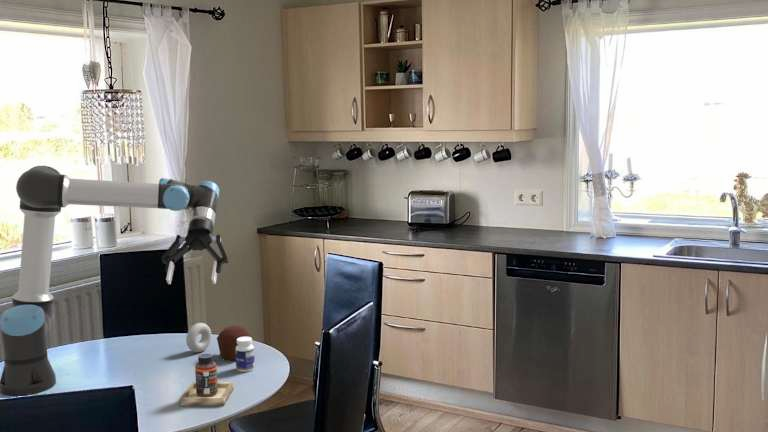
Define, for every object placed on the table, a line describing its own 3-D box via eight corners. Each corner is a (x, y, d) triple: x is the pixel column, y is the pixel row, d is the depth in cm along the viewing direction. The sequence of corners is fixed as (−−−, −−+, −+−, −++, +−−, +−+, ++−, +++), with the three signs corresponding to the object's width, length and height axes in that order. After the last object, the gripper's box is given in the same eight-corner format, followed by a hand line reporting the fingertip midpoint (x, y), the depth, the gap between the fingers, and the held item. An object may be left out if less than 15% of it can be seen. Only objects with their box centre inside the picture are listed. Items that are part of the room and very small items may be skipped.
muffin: (254, 360, 244) (252, 330, 243) (219, 364, 241) (217, 334, 240) (249, 349, 256) (248, 320, 254) (216, 353, 252) (215, 324, 251)
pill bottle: (232, 369, 236) (231, 338, 235) (247, 364, 240) (246, 334, 239) (243, 373, 232) (242, 342, 231) (258, 369, 237) (257, 338, 235)
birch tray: (180, 405, 208) (180, 398, 208) (192, 389, 220) (192, 382, 220) (223, 405, 208) (223, 398, 207) (233, 389, 220) (233, 382, 219)
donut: (207, 347, 259) (206, 318, 257) (214, 348, 257) (213, 320, 255) (184, 355, 251) (183, 326, 249) (191, 357, 249) (190, 327, 247)
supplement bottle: (212, 398, 210) (210, 359, 209) (192, 397, 211) (190, 358, 210) (221, 390, 216) (219, 352, 214) (201, 389, 217) (199, 351, 216)
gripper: (242, 230, 242) (234, 287, 229) (165, 231, 242) (153, 288, 230) (238, 217, 236) (229, 274, 223) (159, 217, 236) (146, 275, 224)
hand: (190, 281), depth 226 cm, fingers open, 13 cm apart
